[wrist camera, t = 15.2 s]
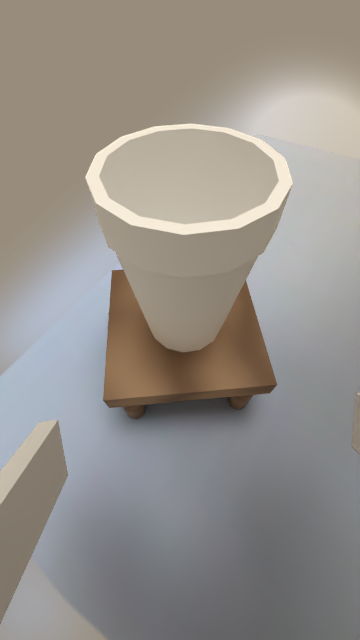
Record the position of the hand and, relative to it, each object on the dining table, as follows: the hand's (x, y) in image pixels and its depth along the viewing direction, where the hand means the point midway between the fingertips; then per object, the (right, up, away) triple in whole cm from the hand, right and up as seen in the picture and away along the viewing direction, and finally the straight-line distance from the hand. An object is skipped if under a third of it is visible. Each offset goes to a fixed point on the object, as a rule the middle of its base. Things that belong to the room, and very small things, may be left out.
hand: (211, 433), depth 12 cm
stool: (-1, +1, +18) cm, 18 cm away
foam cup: (-1, +5, +12) cm, 13 cm away
